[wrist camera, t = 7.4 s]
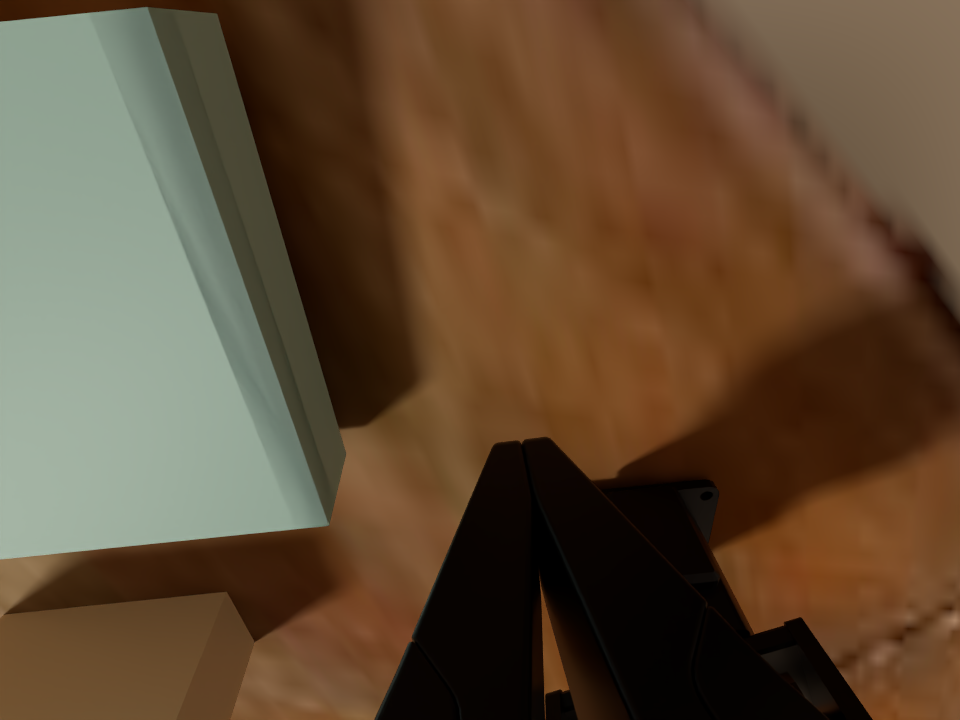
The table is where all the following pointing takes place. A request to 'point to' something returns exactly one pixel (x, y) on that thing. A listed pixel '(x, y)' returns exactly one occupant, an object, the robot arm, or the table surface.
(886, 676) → the table surface
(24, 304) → the lid
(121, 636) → the tan rectangular block
